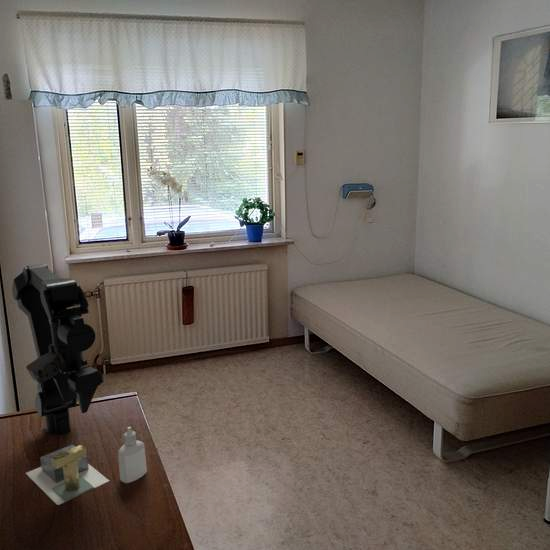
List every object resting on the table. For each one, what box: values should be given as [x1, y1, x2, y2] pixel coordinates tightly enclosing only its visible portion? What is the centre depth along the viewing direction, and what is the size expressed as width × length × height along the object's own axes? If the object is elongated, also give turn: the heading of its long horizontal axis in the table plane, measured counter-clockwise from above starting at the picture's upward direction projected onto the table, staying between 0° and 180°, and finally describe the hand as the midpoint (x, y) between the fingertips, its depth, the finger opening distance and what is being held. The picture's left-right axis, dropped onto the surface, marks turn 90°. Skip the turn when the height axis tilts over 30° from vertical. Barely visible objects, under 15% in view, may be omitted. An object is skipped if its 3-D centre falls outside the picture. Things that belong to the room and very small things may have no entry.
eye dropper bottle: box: [117, 426, 148, 484], centre depth 116 cm, size 4×6×12 cm
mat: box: [52, 476, 95, 502], centre depth 113 cm, size 6×6×1 cm
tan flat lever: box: [51, 444, 88, 491], centre depth 112 cm, size 6×3×8 cm, turn 134°
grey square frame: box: [39, 444, 89, 483], centre depth 120 cm, size 7×7×3 cm
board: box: [25, 463, 110, 506], centre depth 118 cm, size 16×11×1 cm
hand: (74, 406), depth 123 cm, fingers open, 9 cm apart
